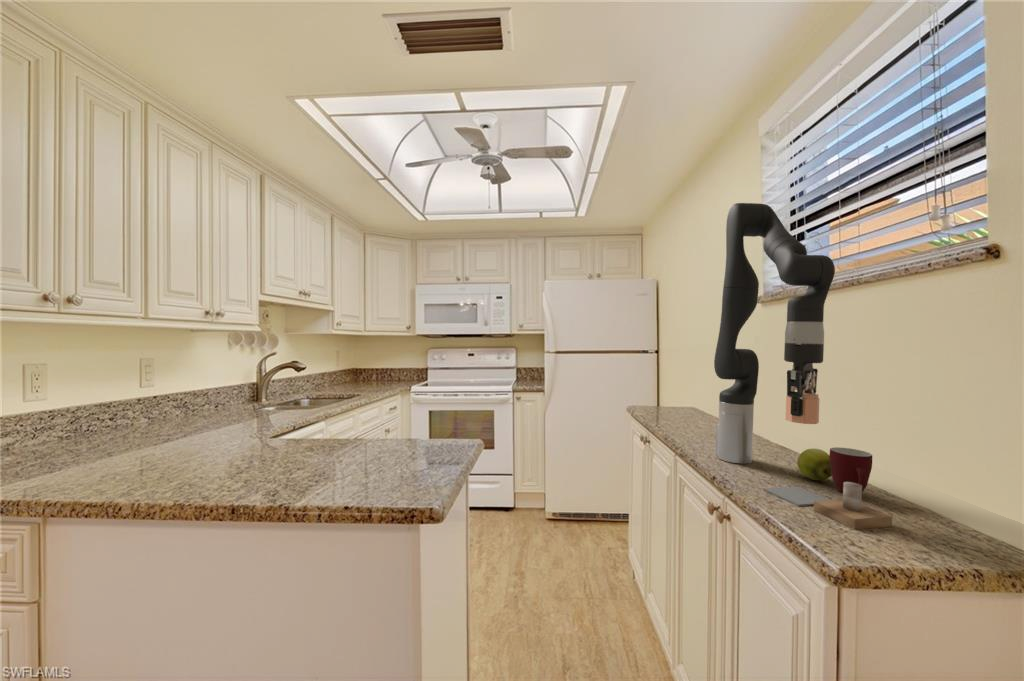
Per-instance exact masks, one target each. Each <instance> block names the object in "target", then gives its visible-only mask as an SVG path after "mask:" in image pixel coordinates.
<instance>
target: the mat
mask: <svg viewBox="0 0 1024 681" xmlns="http://www.w3.org/2000/svg"><path fill="white" fill-rule="evenodd" d="M763 491H765V492H766V493H769V494H771V495H773V496H775V497H777V498H779V497H780V498H779V499H781V498H782V500H784V501H786V502H788V503H790V504H792V503H793V504H792V505H794V504H795V505H794V506H796V507H807V506H811V507H812V506H814V501H827V500H831V498H829V497H825V496H823V495H820V494H818V493H815V492H813V491H811V490H808V489H806V488H803V487H801V486H783V487H764V488H763Z"/></svg>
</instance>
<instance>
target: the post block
mask: <svg viewBox="0 0 1024 681" xmlns="http://www.w3.org/2000/svg"><path fill="white" fill-rule="evenodd" d="M862 496H863V492H862V485H860V484H857V483H853V482H844V485H843V494H842V499H830V500H827V501H814V505H813V512H816V513H818V514H820V515H822V516H825V517H827V518H829V519H831V520H834V521H835V522H837V523H840V524H842V525H844V526H846V527H849V528H850V529H853V530H862V529H865V530H866V529H876V528H889V527H893V516H892V515H889V514H888V513H885V512H883V511H881V510H877V509H875V508H872V507H870V506H867V505H865V504H863V503H862Z"/></svg>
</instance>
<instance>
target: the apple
mask: <svg viewBox="0 0 1024 681" xmlns="http://www.w3.org/2000/svg"><path fill="white" fill-rule="evenodd" d="M829 457H830V454H828V453H827V452H826V451H824V450H822V449H820V448H808V449H807V448H806V450H803V451H802V452H801V453H800V454H799V456H798V458H797V460H796V461H797V462H796V464H797V468H798V470H799V472H800V473H801V474H802V475H803V476H805V477H807V478H808V479H810V480H812V481H813V480H814V481H825V480H827V479H829V478H831V477H832V472H831V466H830V458H829Z"/></svg>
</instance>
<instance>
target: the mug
mask: <svg viewBox="0 0 1024 681" xmlns="http://www.w3.org/2000/svg"><path fill="white" fill-rule="evenodd" d="M829 456H830V457H829V458H830V466H831V472H832V476H831V477H832V478H831V479H832V481H833V483H834V485H835V488H836V489H837V492H838V493H841V494H842V495H843V485H844V482H853V483H857V484H860V485H862V493H863V492H864V491H865V490H866V489H867V486H868V482H869V479H870V476H871V472H872V469H873V454H872V453H871V452H867V451H864V450H860V449H856V448H850V447H849V448H848V447H831V448H829Z"/></svg>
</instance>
